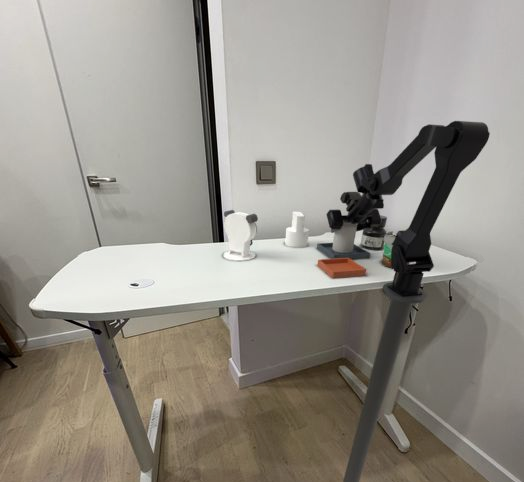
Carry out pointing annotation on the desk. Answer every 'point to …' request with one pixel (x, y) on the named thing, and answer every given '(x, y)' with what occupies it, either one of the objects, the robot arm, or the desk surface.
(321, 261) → the terracotta tray
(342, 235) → the can
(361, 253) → the grey tray
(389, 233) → the food container
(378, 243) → the ink bottle
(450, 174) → the robot arm
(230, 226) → the panda figurine
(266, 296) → the desk surface
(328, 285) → the desk surface
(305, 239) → the white stepped part
